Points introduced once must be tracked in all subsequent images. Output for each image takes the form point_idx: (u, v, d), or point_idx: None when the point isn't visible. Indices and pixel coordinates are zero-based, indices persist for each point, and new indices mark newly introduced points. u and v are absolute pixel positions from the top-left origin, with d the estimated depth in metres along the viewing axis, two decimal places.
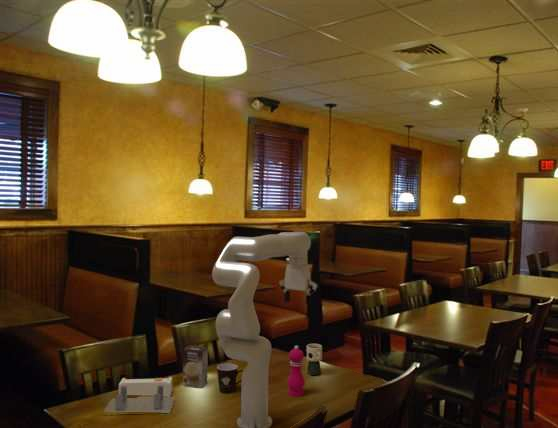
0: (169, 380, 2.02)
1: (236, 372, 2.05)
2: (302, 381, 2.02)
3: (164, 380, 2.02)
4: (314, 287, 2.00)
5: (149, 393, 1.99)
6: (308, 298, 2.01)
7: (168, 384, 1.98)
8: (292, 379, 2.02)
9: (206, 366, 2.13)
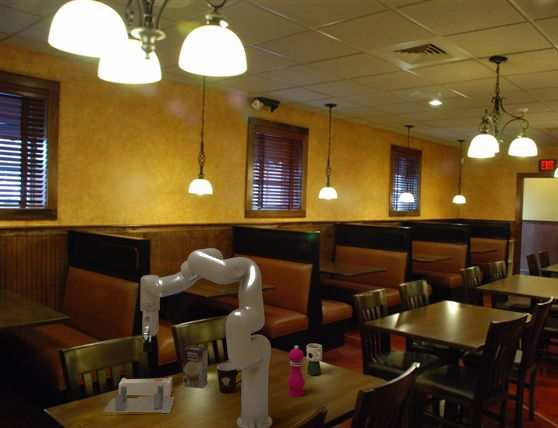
0: (169, 380, 2.02)
1: (236, 372, 2.05)
2: (302, 381, 2.02)
3: (164, 380, 2.02)
4: None
5: (149, 393, 1.99)
6: None
7: (168, 384, 1.98)
8: (292, 379, 2.02)
9: (206, 366, 2.13)
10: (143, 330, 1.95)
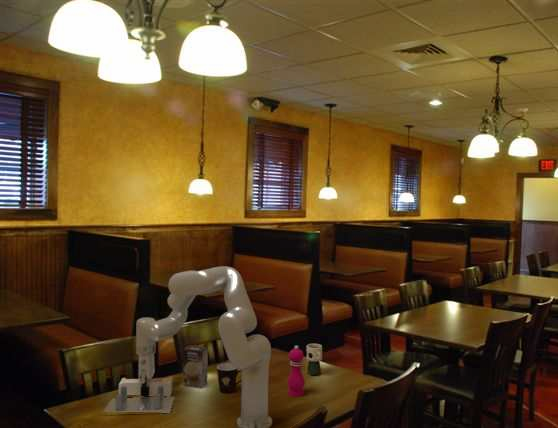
0: (169, 380, 2.02)
1: (236, 372, 2.05)
2: (302, 381, 2.02)
3: (164, 380, 2.02)
4: None
5: (149, 393, 1.99)
6: None
7: (168, 384, 1.98)
8: (292, 379, 2.02)
9: (206, 366, 2.13)
10: (139, 377, 1.96)
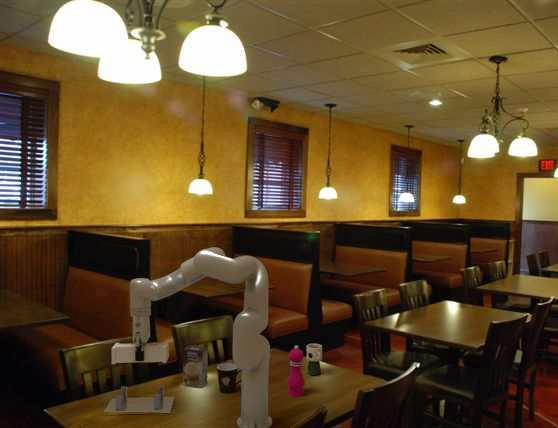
0: (165, 344, 1.89)
1: (236, 372, 2.05)
2: (302, 381, 2.02)
3: (160, 344, 1.89)
4: None
5: (144, 358, 1.87)
6: None
7: (164, 348, 1.86)
8: (292, 379, 2.02)
9: (206, 366, 2.13)
10: (134, 340, 1.84)
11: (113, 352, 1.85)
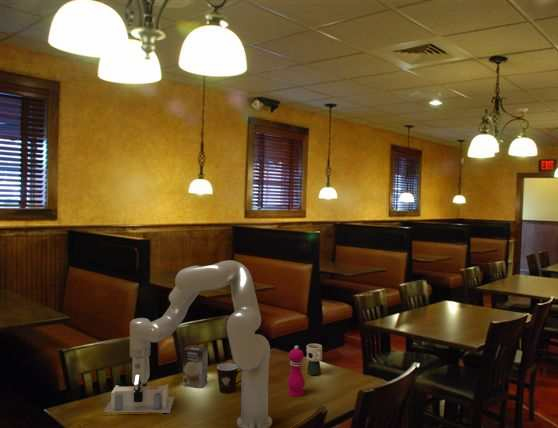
0: (165, 388, 1.89)
1: (236, 372, 2.05)
2: (302, 381, 2.02)
3: (160, 388, 1.89)
4: None
5: (144, 402, 1.87)
6: None
7: (164, 392, 1.86)
8: (292, 379, 2.02)
9: (206, 366, 2.13)
10: (133, 379, 1.84)
11: (113, 396, 1.85)
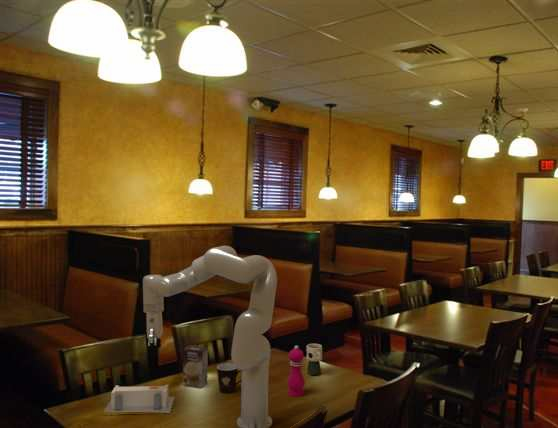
0: (165, 388, 1.89)
1: (236, 372, 2.05)
2: (302, 381, 2.02)
3: (160, 388, 1.89)
4: None
5: (144, 402, 1.87)
6: None
7: (164, 392, 1.86)
8: (292, 379, 2.02)
9: (206, 366, 2.13)
10: (148, 333, 1.86)
11: (113, 396, 1.85)
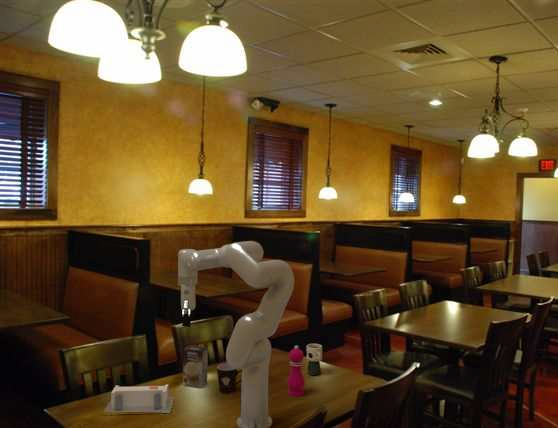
0: (165, 388, 1.89)
1: (236, 372, 2.05)
2: (302, 381, 2.02)
3: (160, 388, 1.89)
4: None
5: (144, 402, 1.87)
6: None
7: (164, 392, 1.86)
8: (292, 379, 2.02)
9: (206, 366, 2.13)
10: (182, 304, 1.92)
11: (113, 396, 1.85)
